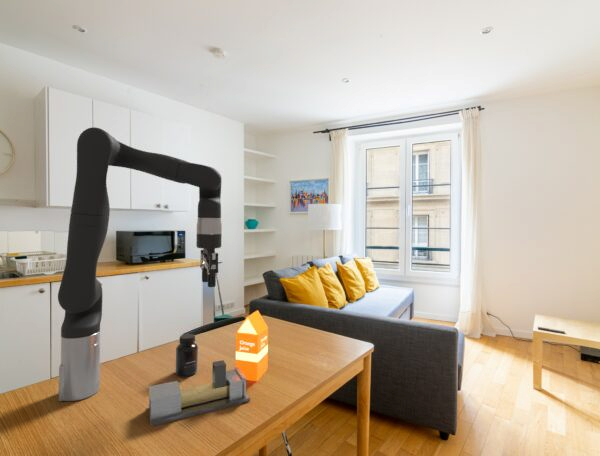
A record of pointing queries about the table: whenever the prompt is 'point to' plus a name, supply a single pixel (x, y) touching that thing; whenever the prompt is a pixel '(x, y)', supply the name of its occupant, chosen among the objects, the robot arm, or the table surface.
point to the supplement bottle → (186, 356)
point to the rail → (169, 404)
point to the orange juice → (252, 347)
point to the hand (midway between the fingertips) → (208, 284)
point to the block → (207, 388)
